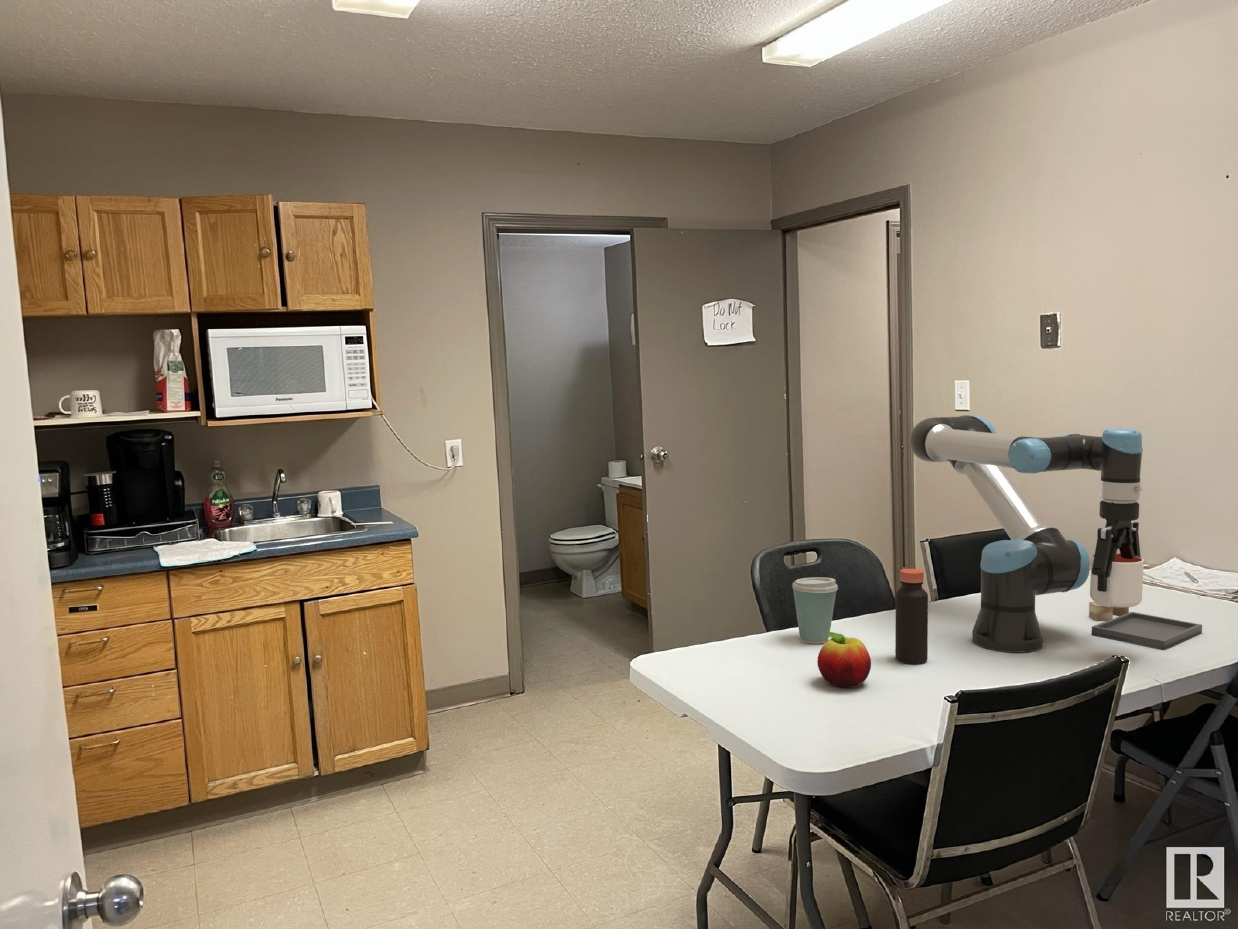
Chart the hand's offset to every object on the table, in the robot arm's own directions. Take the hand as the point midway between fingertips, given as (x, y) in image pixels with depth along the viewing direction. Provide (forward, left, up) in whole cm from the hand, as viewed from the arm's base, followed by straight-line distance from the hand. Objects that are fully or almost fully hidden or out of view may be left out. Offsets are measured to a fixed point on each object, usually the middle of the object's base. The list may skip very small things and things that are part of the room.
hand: (1115, 601), depth 201 cm
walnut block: (+3, +39, -12) cm, 41 cm away
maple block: (-1, +32, -12) cm, 34 cm away
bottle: (-41, -17, -12) cm, 46 cm away
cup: (0, 0, -1) cm, 1 cm away
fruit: (-52, -37, -13) cm, 65 cm away
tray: (+8, +21, -12) cm, 25 cm away
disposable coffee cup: (-64, -9, -12) cm, 66 cm away
